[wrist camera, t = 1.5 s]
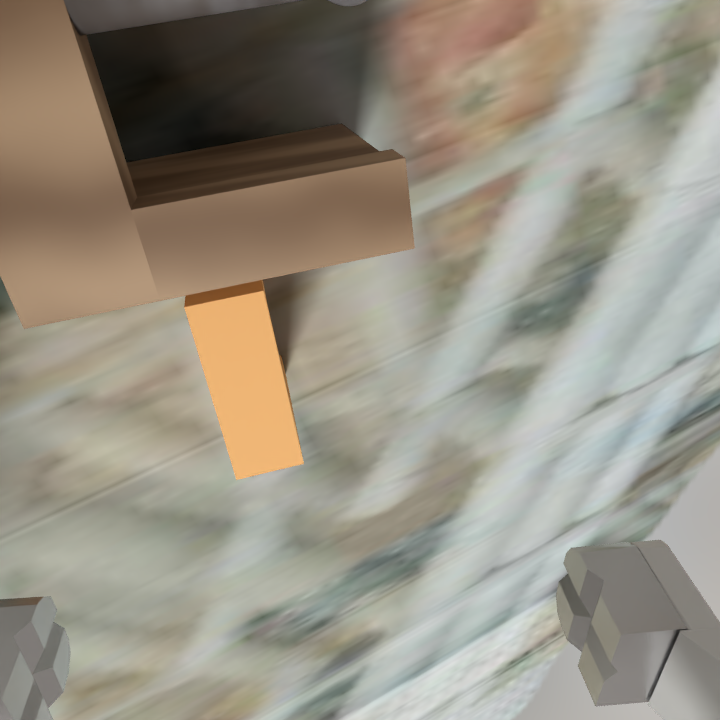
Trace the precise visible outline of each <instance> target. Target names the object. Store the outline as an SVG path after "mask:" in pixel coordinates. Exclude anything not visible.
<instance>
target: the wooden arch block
mask: <svg viewBox="0 0 720 720" xmlns="http://www.w3.org/2000/svg"><path fill="white" fill-rule="evenodd" d="M184 308H185V311H186V314H187V318H188V321H189V324H190V328H191V331H192V334H193V337H194V341H195V344H196V347H197V351H198V354H199V357H200V361H201V364H202V367H203V371H204V374H205V377H206V380H207V384H208V387H209V390H210V394H211V397H212V400H213V404H214V407H215V410H216V414H217V417H218V420H219V423H220V427H221V430H222V433H223V437H224V440H225V443H226V447H227V450H228V453H229V457H230V460H231V463H232V466H233V470H234V473H235V476H236V480H238V479H242V478H246V477H250V476H255V475H259V474H263V473H267V472H271V471H275V470H280V469H284V468H288V467H292V466H296V465H301V464H304V462H303V457H302V452H301V447H300V443H299V438H298V433H297V428H296V423H295V418H294V413H293V408H292V403H291V398H290V393H289V388H288V383H287V379H286V374H285V369H284V365H283V361H282V356H281V355H279V352H278V348H277V343H276V339H275V335H274V330H273V326H272V322H271V317H270V313H269V309H268V304H267V299H266V294H265V289H264V283H263V280H259V281H254V282H249V283H244V284H239V285H234V286H230V287H225V288H220V289H215V290H210V291H205V292H200V293H196V294H191V295H186V297H185V306H184Z"/></svg>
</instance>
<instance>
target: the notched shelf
mask: <svg viewBox="0 0 720 720" xmlns="http://www.w3.org/2000/svg"><path fill="white" fill-rule="evenodd" d="M295 1H301V0H0V276H1V278H2V281H3V283H4V285H5V287H6V290H7V292H8V294H9V296H10V299H11V301H12V303H13V305H14V308H15V310H16V312H17V314H18V317H19V319H20V321H21V323H22V326H23V328H24V329H26V328H31V327H35V326H40V325H45V324H50V323H55V322H60V321H65V320H69V319H74V318H79V317H84V316H89V315H94V314H99V313H103V312H108V311H113V310H118V309H123V308H128V307H132V306H137V305H142V304H147V303H152V302H157V301H162V300H166V299H171V298H176V297H181V296H186V295H191V294H196V293H200V292H205V291H210V290H215V289H220V288H225V287H230V286H234V285H239V284H244V283H249V282H254V281H259V280H264V279H268V278H273V277H278V276H283V275H288V274H293V273H298V272H302V271H307V270H312V269H317V268H322V267H327V266H331V265H336V264H341V263H346V262H351V261H356V260H361V259H365V258H370V257H375V256H380V255H385V254H390V253H395V252H399V251H404V250H409V249H414V238H413V228H412V218H411V209H410V199H409V189H408V180H407V170H406V160H405V158H404V157H403V156H402V155H400V154H399V153H397V152H396V151H394V150H393V149H390V150H385V151H380V152H379V151H378V150H377V149H375V148H374V147H373V146H371V145H370V144H369V143H367V142H366V141H364V140H363V139H362V138H360V137H359V136H358V135H356V134H355V133H354V132H352V131H351V130H350V129H348V128H347V127H346V126H344V125H343V124H336V125H331V126H325V127H320V128H314V129H309V130H303V131H298V132H292V133H287V134H281V135H275V136H270V137H264V138H259V139H253V140H248V141H242V142H237V143H231V144H226V145H220V146H215V147H209V148H204V149H198V150H193V151H187V152H182V153H176V154H171V155H165V156H160V157H154V158H149V159H143V160H138V161H132V162H127V163H126V160H125V157H124V154H123V150H122V147H121V144H120V141H119V138H118V134H117V131H116V128H115V125H114V122H113V118H112V115H111V112H110V109H109V106H108V102H107V99H106V96H105V93H104V90H103V86H102V83H101V80H100V77H99V74H98V71H97V67H96V64H95V61H94V58H93V55H92V51H91V48H90V45H89V42H88V39H87V34H94V33H100V32H106V31H112V30H119V29H125V28H131V27H138V26H144V25H150V24H157V23H163V22H169V21H175V20H182V19H188V18H194V17H201V16H207V15H213V14H220V13H226V12H232V11H238V10H245V9H251V8H257V7H264V6H270V5H276V4H283V3H289V2H295ZM328 1H330V2H332V3H334V4H337V5H341V6H355V5H359V4H362V3H364V2H366V1H367V0H328Z"/></svg>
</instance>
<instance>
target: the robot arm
mask: <svg viewBox="0 0 720 720" xmlns="http://www.w3.org/2000/svg"><path fill="white" fill-rule="evenodd" d="M564 565H565V568H566V570H567V572H568V574H567V575H566V576H565V577H563V578H562V579H561V580H560V581H559V584H558V589H557V593H556V600H557V612H558V616H559V620H560V623H561V626H562V629H563V631H564V634H565V636H566V639H567V640H568V641H569V642H570V643H571V644H573V645H574V646H575V647H577V648H578V649H579V650H580V651H581V652H582V653H581V657H580V660H579V664H578V667H579V669H580V672H581V674H582V676H583V679H584V681H585V683H586V685H587V688H588V690H589V692H590V695H591V697H592V699H593V702H594V704H595V706H605V705H617V704H629V703H640V702H649V703H648V706H649V707H651V708H652V709H653V710H654V711H655V712H656V713H657V714H658V715H659V716H660V717H661V718H662V719H663V720H720V622H719V620H718V619H717V617H716V616H715V615H714V613H713V611H712V610H711V608H710V607H709V605H708V604H707V602H706V601H705V600H704V598H703V597H702V595H701V594H700V592H699V591H698V589H697V588H696V586H695V585H694V583H693V582H692V580H691V579H690V577H689V576H688V574H687V573H686V572H685V570H684V569H683V567H682V566H681V564H680V563H679V561H678V560H677V558H676V557H675V555H674V554H673V553H672V551H671V550H670V548H669V546H668V545H667V544H666V543H664V542H663V541H661V540H652V541H641V542H631V543H627V542H623V543H613V544H604V545H594V546H585V547H575V548H571V549H570V550H569V551H568V552H567V553H566V556H565V560H564ZM56 612H57V609H56V606H55V604H54V602H53V600H52V598H51V596H47V597H31V598H15V599H0V720H53V718H52V716H51V714H50V711H49V709H48V708H49V707H50V706H51V705H52V704H53V702H54V701H55V700H56V699H57V698H58V697H59V696H60V695H61V694H62V693H63V691H64V688H65V684H66V680H67V677H68V673H69V662H70V646H69V638H68V636H67V633H66V631H65V628H63V627H61V626H60V625H58V624H56V623H55V622H53V621H54V618H55V615H56Z"/></svg>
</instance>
